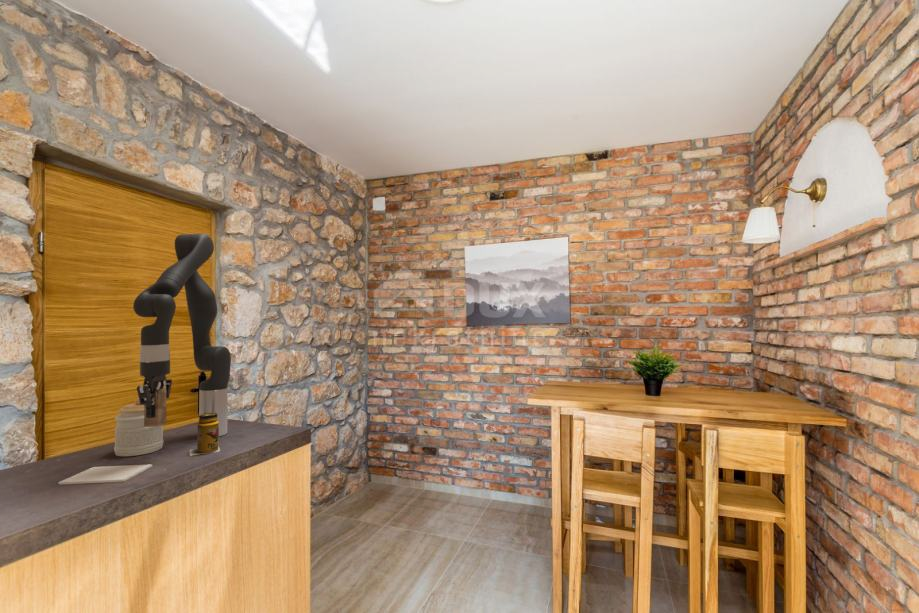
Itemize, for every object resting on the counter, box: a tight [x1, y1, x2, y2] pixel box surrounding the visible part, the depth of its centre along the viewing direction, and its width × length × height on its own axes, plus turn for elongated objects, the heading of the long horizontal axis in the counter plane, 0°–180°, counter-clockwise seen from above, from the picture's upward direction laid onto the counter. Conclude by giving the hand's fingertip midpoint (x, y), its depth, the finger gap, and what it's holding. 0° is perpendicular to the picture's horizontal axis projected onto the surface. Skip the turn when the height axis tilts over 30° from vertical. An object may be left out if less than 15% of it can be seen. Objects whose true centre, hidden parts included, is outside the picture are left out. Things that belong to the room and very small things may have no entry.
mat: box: [58, 464, 153, 485], centre depth 117 cm, size 12×16×1 cm
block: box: [144, 387, 167, 427], centre depth 129 cm, size 4×4×11 cm
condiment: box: [189, 413, 221, 457], centre depth 139 cm, size 7×8×12 cm
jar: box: [113, 397, 164, 457], centre depth 140 cm, size 13×13×18 cm
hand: (155, 415), depth 129 cm, fingers closed on block, 4 cm apart
